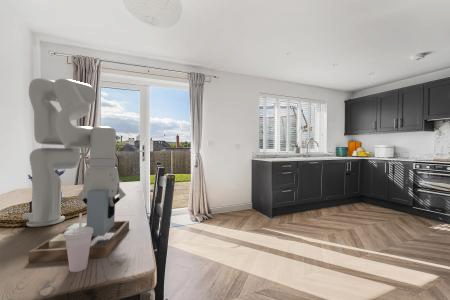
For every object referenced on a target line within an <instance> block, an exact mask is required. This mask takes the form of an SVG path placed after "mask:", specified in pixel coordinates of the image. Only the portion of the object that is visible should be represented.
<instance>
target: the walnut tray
mask: <svg viewBox="0 0 450 300" xmlns="http://www.w3.org/2000/svg"><path fill="white" fill-rule="evenodd" d="M76 223H77V222H74V223H72V224H71V225H73V224H76ZM71 225H69V226H68V227H70V226H71ZM68 227H66V228H65V229H67V228H68ZM65 229H63V230H61V231H60V232H58V233H56V234H55V235H53V236H51V237H49V238H48V239H47V240H45V241H43V242H42V243H40V244H39V245H37V246H36V247H34V248H32V249H31V250H29V251H28V259H27V260H28V261H27V262H28V264H31V263H45V262H58V261H59V262H60V261H61V262H62V261H68V254H67V247H66V248H56V249H49V241H51V240H52V239H53V238H55V237H56V236H58V235H59V234H64V233H65ZM129 229H130V220H114V226H113V227H112V228H111V229H110V230H109V231H115V230H116V232H115V233H114V234H113V235H112V236H111V237H110V238H109V240H107V242H106V243H105V244H103V245H93V246H91V245H90V250H89V256H88V260H90V259H100V258H101V259H103V258H107V257H108V256H109V255H110V253H111V252H112V251H113V249H114V248H115V247H116V245H118V244H119V241H121V239H122V238H123V237H124V236H125V234H126V233H127V232H128V230H129ZM94 237H95V236H91V240H92V239H93V238H94Z"/></svg>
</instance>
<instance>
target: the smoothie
mask: <svg viewBox="0 0 450 300" xmlns="http://www.w3.org/2000/svg"><path fill="white" fill-rule="evenodd" d="M78 217H79V219H78V223H79V227H78V228H73V229H70V230H68V231H66V232H65V233H64V238H65V239H66V247H67V254H68V260H67V261H68V266H69V272H71V273H78V272H81V271H84V270H85V269H87V268H88V262H89V259H88V256H89V250H90V246H91V242H92V239H91V236H92V233H93V228H92V227H82V223H83V212H79V216H78Z"/></svg>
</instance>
